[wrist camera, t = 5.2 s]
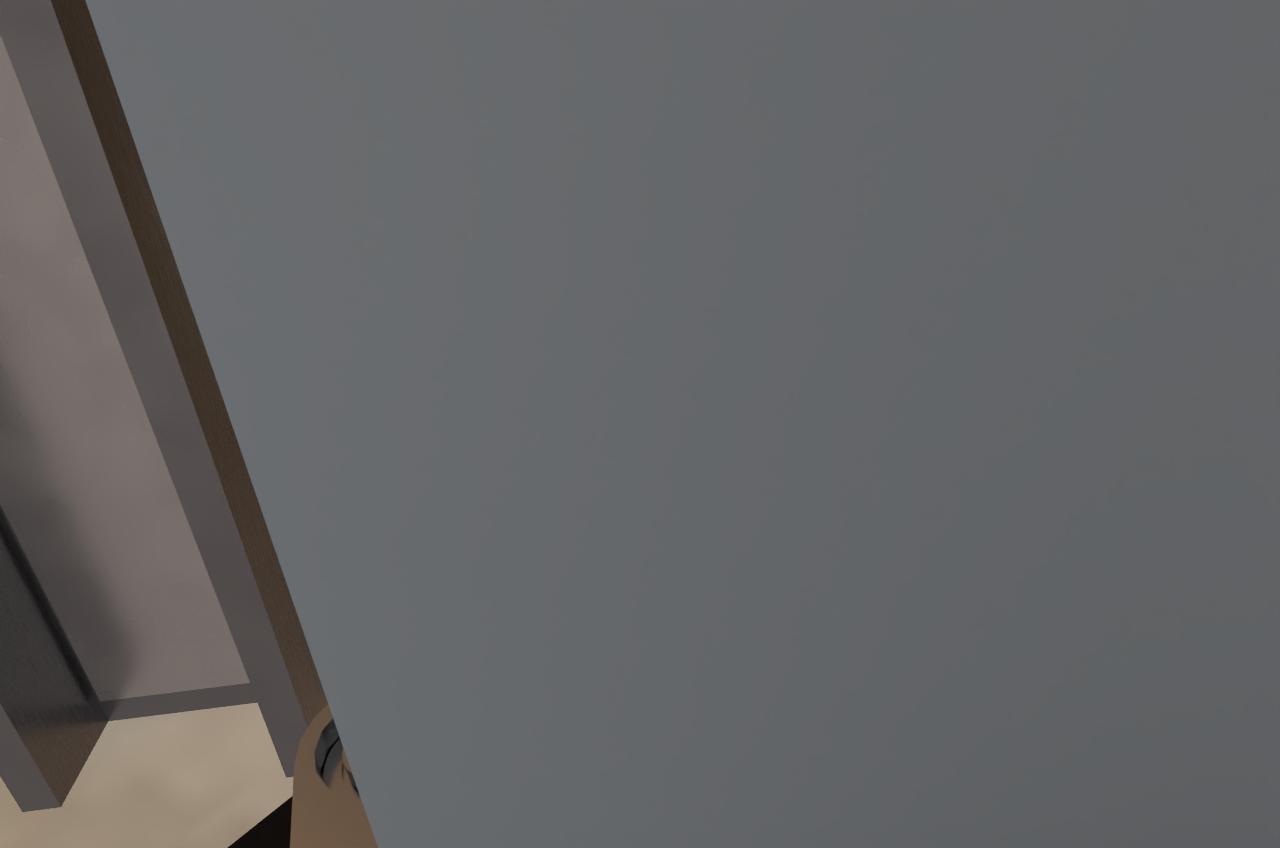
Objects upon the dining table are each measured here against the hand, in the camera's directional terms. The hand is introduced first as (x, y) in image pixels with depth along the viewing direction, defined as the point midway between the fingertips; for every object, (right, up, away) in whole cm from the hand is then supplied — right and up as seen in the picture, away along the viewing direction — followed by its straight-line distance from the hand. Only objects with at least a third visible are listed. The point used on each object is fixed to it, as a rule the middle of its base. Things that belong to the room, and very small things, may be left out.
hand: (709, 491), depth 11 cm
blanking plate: (0, +1, +1) cm, 2 cm away
